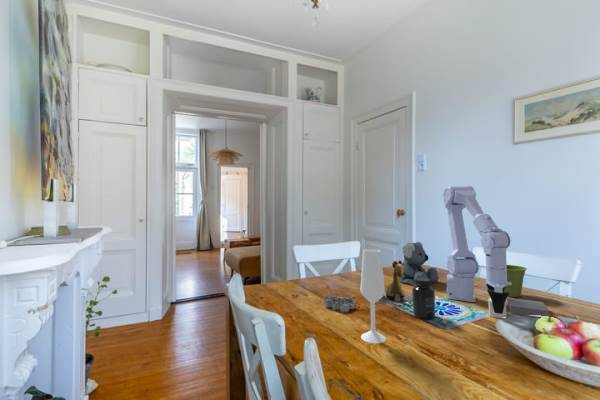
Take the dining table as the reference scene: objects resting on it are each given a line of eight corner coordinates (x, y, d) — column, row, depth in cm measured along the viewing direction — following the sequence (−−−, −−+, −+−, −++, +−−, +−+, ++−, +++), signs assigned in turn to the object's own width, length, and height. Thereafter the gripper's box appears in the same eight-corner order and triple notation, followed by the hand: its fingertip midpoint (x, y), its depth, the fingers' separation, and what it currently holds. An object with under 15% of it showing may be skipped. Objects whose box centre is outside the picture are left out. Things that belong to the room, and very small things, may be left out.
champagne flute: (367, 330, 85) (366, 248, 86) (389, 336, 81) (388, 250, 82) (356, 338, 80) (355, 251, 81) (379, 345, 76) (378, 253, 77)
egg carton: (357, 308, 105) (357, 297, 105) (344, 314, 100) (344, 302, 100) (333, 301, 113) (333, 291, 113) (320, 306, 107) (320, 295, 107)
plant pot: (515, 290, 124) (514, 264, 124) (535, 299, 112) (534, 270, 112) (486, 290, 125) (485, 263, 125) (502, 299, 113) (501, 269, 113)
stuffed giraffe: (384, 306, 106) (384, 262, 107) (371, 293, 124) (371, 256, 125) (428, 307, 106) (428, 263, 107) (408, 294, 124) (408, 256, 125)
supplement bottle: (434, 313, 99) (433, 277, 99) (436, 321, 92) (435, 282, 92) (412, 311, 101) (411, 276, 101) (413, 318, 94) (412, 281, 95)
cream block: (489, 316, 96) (489, 301, 96) (488, 312, 99) (488, 297, 100) (506, 319, 93) (506, 303, 93) (505, 314, 97) (504, 299, 97)
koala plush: (424, 289, 128) (423, 244, 128) (387, 281, 141) (386, 241, 142) (440, 282, 140) (439, 241, 140) (405, 275, 153) (404, 238, 153)
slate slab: (510, 314, 98) (510, 305, 98) (507, 306, 106) (507, 297, 107) (549, 320, 93) (549, 310, 93) (542, 310, 102) (542, 301, 102)
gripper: (513, 273, 89) (515, 318, 88) (508, 265, 101) (509, 304, 101) (486, 271, 92) (487, 314, 92) (484, 263, 105) (485, 301, 104)
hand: (497, 309), depth 96 cm, fingers open, 7 cm apart
